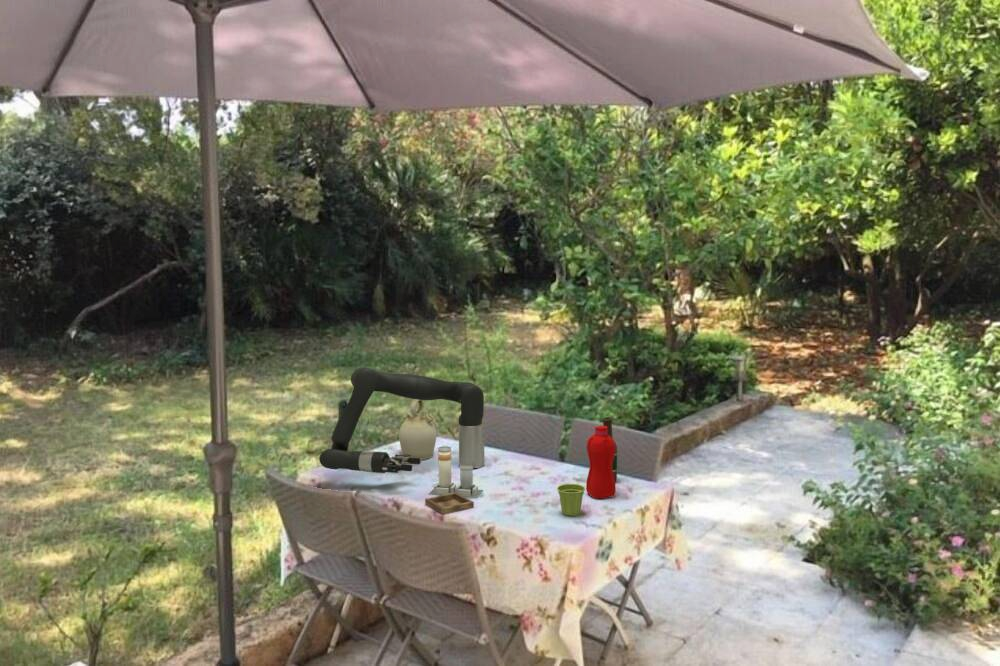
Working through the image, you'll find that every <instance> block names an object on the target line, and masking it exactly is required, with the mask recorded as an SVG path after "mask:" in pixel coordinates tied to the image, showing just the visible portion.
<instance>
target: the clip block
mask: <svg viewBox="0 0 1000 666" xmlns="http://www.w3.org/2000/svg"><path fill="white" fill-rule="evenodd" d="M450 491H451V492H450V493H455V492H456V493H458V494H460V495H462V496H464V497H465V498H467V499H478V498H479V497H480V495H481V494H482V493H483V491H484V489H479V486H478V485H476V484H475V483H473V489H472V494H471V490H466V489H460V484H458V485H457V484H455V482H451V488H450ZM450 493H449V488H439V482H438V483H437V482H436V484H435V485H434V486H433V489H432V490H431V491H430V492H429V493H428V494H427V495H428V496H441V495H445V494H450Z"/></svg>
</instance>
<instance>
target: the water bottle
mask: <svg viewBox="0 0 1000 666" xmlns="http://www.w3.org/2000/svg"><path fill="white" fill-rule="evenodd" d="M607 431H608V427H607V426H603V425H598V426H597V425H596V426H594V434H593V435H590V437H588V439H587V444H586V453H587V455H588V460H589V469H588V474H587V479H586V483H585V484H586V487H585V491H586V493H587V494H588V495H589V496H590V497H592V498H594V499H597V500H602V499H608V497H609V498H612V497H614V496H615V495H616V491H617V489H616V483H615V480H614V475H613V470H612V463H613V459H614V455H615V451H616V446H617V445H616V446H615V443H616V441H615V439H614V438H612V437H613V436H612V437H610V436H609V435H607ZM601 498H602V499H601Z"/></svg>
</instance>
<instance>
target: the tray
mask: <svg viewBox="0 0 1000 666" xmlns="http://www.w3.org/2000/svg"><path fill="white" fill-rule="evenodd" d="M424 502H425V503H424V505H425V506H427V508H430V509H432V510H434V511H435V512H436V513H438V514H440V515H442V516H443V515H447V514H448V515H449V514H454V513H458V512H462V511H466V510H470V509H473V508H475V507H474V506H475V503H474V501H473V500H471V499H470V498H465V497H464V496H462V495H460V494H458V493H456V492H455V493H450V494H445V495H441V496H438V495H435V496H432V497H429V498H428V497H427V498H425V499H424Z"/></svg>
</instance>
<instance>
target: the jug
mask: <svg viewBox="0 0 1000 666" xmlns="http://www.w3.org/2000/svg"><path fill="white" fill-rule="evenodd" d="M424 403H425V402H424V400H417V399H412V402H411V403H410V408H409V409H410V411H409V412H410V414H411V415H412V416H410V414H408V413H407V412H403V417H402V418H403V420H404V422H403V423H402V424H401V426H400V428H399V430H398V431H399V432H398V439H399V445H400V449H401V453H402V454H401V455H411V458H420V461H426V460H425V459H427V460H429V459H431V458H433V456H434V455H433V454H434V451H435V447H436V443H437V441H436V440H437V429H436V426H435V425H434V423H433V421H434V420H435V417H434V416H433V415H432V414H430V413H426V414H425V417H424V416H422V414H423V412H424V407H425V404H424ZM417 405H418V408H417ZM428 458H429V459H428Z"/></svg>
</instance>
